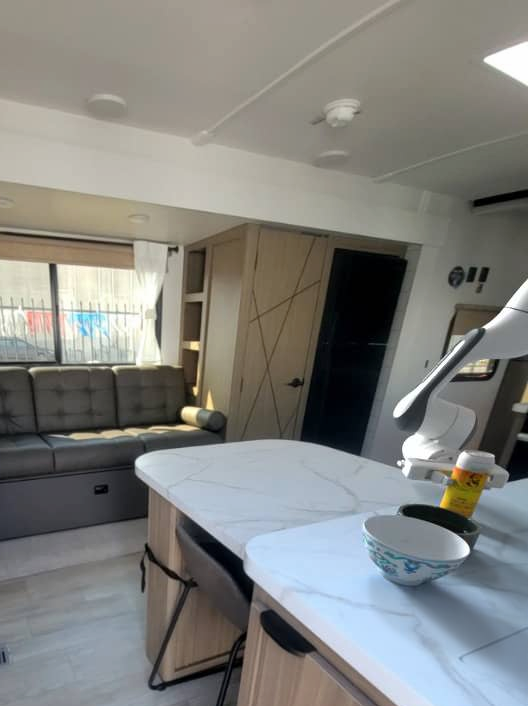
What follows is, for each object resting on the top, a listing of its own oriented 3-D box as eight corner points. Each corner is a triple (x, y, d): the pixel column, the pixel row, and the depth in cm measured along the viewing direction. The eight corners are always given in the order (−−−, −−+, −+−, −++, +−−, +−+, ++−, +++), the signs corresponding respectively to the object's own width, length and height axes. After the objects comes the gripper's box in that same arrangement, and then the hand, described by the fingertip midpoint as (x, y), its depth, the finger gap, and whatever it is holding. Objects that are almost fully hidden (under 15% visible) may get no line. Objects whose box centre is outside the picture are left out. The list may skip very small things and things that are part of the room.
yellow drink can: (443, 521, 89) (469, 456, 83) (432, 510, 95) (456, 448, 88) (474, 525, 88) (503, 459, 82) (461, 513, 94) (488, 450, 87)
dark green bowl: (445, 530, 85) (455, 506, 83) (486, 564, 73) (499, 538, 71) (379, 524, 87) (387, 501, 84) (408, 557, 75) (418, 531, 72)
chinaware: (378, 600, 63) (393, 557, 59) (337, 550, 76) (348, 513, 73) (474, 603, 63) (495, 561, 59) (416, 553, 76) (431, 516, 73)
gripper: (398, 448, 100) (421, 465, 87) (491, 456, 96) (528, 475, 84) (391, 472, 102) (411, 492, 90) (481, 481, 99) (515, 503, 87)
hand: (469, 484), depth 87 cm, fingers closed on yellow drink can, 6 cm apart
